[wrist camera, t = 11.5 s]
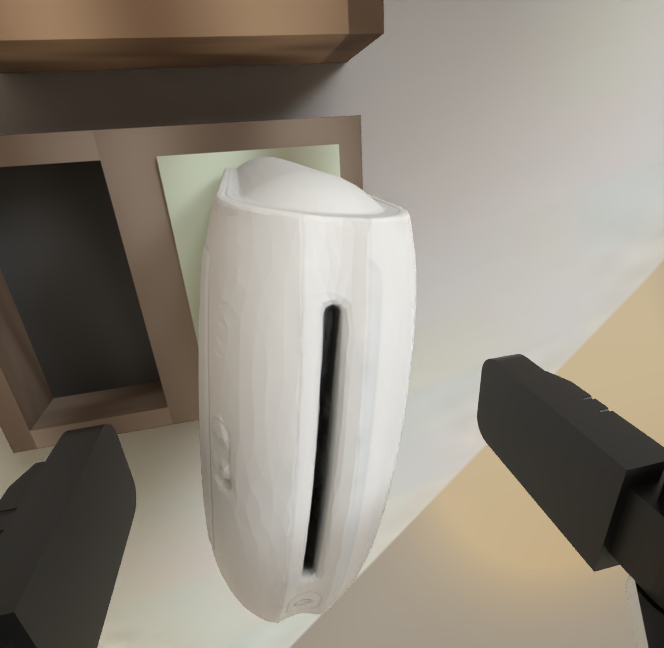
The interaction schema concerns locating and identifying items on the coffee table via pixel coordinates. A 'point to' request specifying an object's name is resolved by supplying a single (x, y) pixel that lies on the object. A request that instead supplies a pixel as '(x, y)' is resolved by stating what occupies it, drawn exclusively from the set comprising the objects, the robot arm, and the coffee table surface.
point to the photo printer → (300, 379)
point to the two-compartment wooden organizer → (121, 264)
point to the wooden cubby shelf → (182, 33)
